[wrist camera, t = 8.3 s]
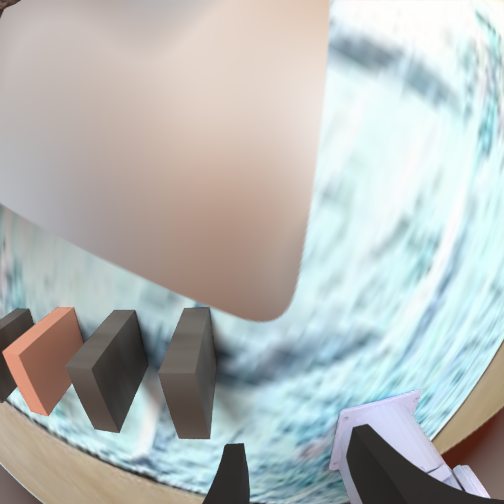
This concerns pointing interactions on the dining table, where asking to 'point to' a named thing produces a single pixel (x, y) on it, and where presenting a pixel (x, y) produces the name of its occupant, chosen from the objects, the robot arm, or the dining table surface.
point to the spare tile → (45, 359)
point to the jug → (7, 3)
